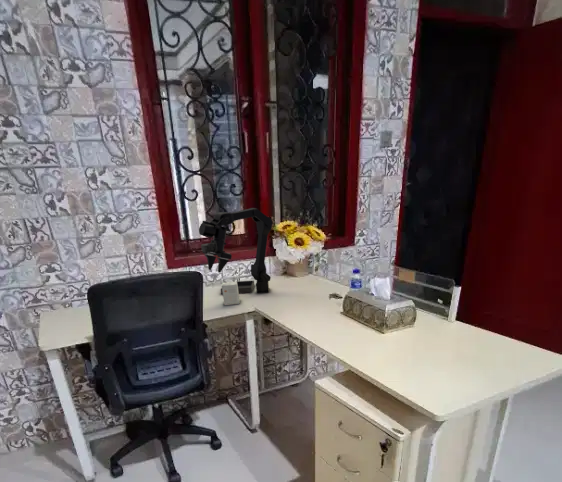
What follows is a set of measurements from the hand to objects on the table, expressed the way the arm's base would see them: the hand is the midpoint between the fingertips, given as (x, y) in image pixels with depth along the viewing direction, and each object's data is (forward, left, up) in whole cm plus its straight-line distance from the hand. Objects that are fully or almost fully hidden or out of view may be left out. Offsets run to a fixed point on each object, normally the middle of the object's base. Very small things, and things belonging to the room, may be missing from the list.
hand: (214, 271), depth 208 cm
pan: (-6, -24, -18) cm, 30 cm away
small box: (-6, -2, -18) cm, 19 cm away
